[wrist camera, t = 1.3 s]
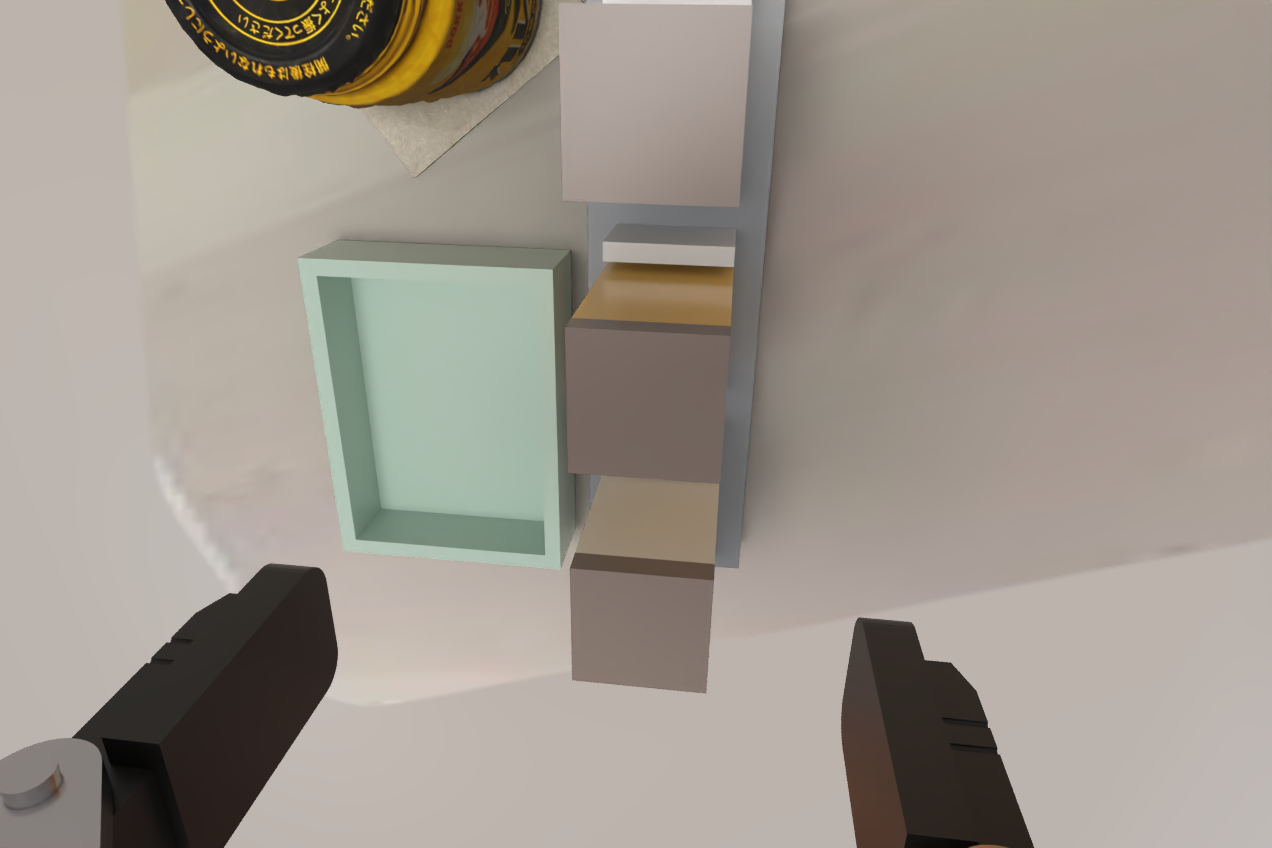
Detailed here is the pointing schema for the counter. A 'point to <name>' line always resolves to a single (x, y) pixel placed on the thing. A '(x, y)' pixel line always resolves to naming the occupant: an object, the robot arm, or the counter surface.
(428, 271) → the tray
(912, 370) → the counter surface
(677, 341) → the block
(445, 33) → the condiment
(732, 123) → the rail
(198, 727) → the robot arm
